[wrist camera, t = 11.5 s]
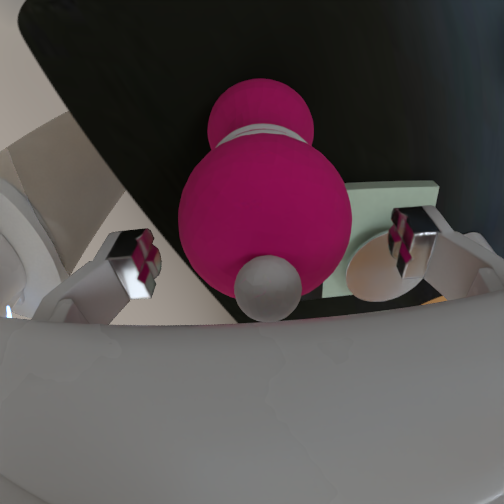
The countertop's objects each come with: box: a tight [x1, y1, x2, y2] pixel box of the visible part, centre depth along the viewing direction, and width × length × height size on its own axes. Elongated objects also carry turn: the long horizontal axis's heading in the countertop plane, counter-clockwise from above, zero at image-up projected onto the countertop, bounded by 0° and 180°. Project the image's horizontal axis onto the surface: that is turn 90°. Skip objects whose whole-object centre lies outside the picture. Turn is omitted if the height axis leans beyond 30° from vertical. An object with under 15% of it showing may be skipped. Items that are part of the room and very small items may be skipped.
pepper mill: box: [178, 79, 352, 322], centre depth 15 cm, size 7×7×20 cm
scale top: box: [300, 230, 423, 302], centre depth 29 cm, size 15×10×1 cm
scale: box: [322, 181, 439, 298], centre depth 30 cm, size 16×14×3 cm
